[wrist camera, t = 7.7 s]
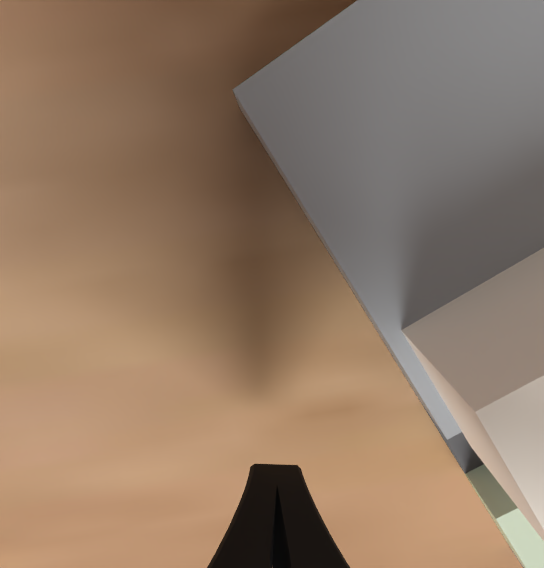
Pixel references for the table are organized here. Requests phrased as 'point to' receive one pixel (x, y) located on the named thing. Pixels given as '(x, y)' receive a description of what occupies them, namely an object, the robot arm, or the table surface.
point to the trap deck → (417, 169)
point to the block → (495, 376)
